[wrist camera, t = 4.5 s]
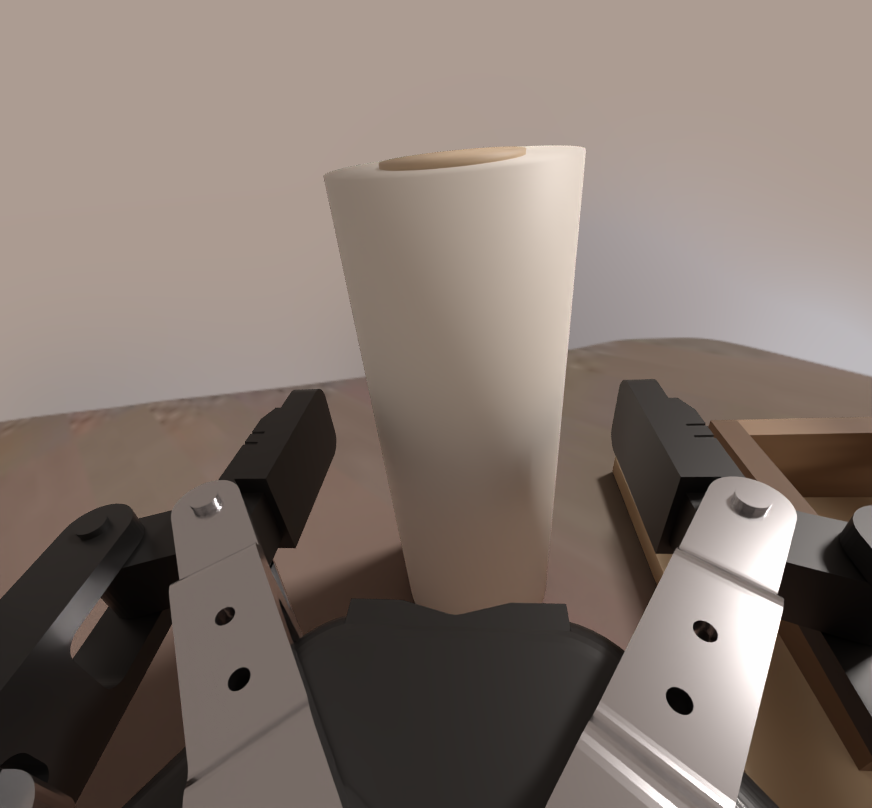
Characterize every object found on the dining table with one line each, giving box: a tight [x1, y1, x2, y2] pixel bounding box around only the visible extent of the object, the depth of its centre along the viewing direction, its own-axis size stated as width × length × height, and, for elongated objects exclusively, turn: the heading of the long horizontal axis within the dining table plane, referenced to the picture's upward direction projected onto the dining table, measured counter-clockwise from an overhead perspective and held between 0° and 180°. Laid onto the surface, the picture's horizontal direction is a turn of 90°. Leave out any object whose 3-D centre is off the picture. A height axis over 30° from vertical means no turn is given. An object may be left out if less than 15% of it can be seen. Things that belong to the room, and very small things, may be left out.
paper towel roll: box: [324, 146, 586, 615], centre depth 13 cm, size 6×6×15 cm
